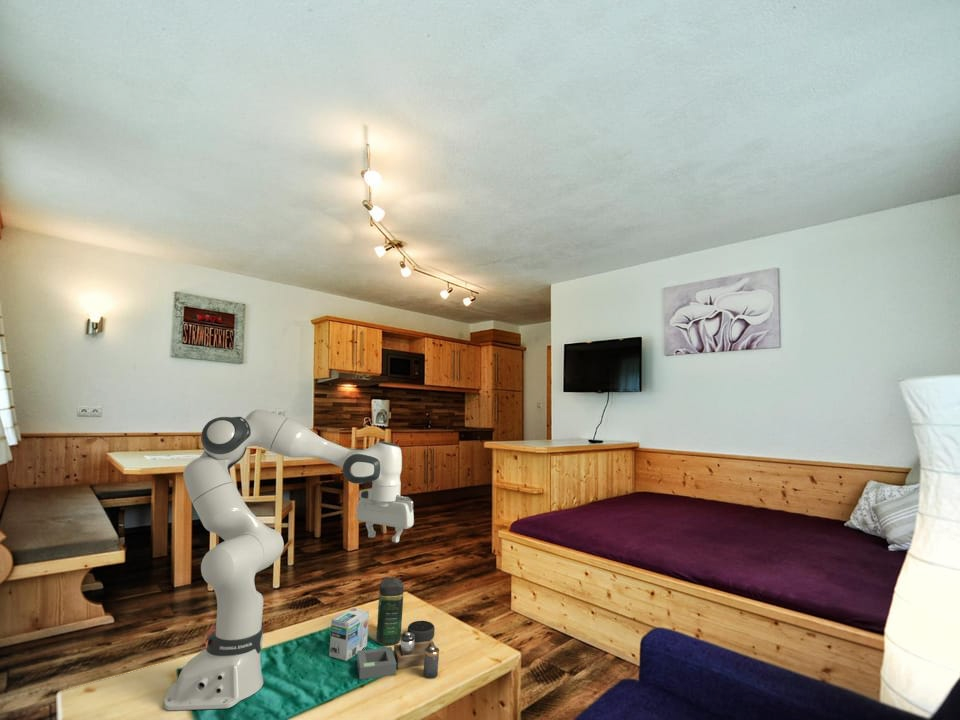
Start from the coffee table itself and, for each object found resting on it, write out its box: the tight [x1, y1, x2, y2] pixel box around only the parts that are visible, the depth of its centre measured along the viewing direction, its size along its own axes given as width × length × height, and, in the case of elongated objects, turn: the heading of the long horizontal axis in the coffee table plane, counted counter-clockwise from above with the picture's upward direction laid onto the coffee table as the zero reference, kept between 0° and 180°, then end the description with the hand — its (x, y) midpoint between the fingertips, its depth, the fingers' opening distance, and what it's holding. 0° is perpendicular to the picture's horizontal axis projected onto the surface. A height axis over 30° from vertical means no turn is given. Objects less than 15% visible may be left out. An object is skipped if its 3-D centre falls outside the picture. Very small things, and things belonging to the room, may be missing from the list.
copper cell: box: [422, 646, 440, 679], centre depth 137 cm, size 4×4×7 cm
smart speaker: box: [406, 620, 436, 643], centre depth 159 cm, size 9×9×4 cm
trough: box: [393, 640, 436, 670], centre depth 144 cm, size 12×8×3 cm, turn 108°
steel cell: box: [400, 631, 415, 656], centre depth 144 cm, size 4×4×7 cm
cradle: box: [356, 646, 397, 680], centre depth 139 cm, size 10×10×3 cm
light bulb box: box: [328, 607, 370, 662], centre depth 148 cm, size 11×7×11 cm, turn 158°
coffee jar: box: [376, 576, 404, 646], centre depth 158 cm, size 10×8×19 cm
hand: (383, 539), depth 150 cm, fingers open, 8 cm apart
